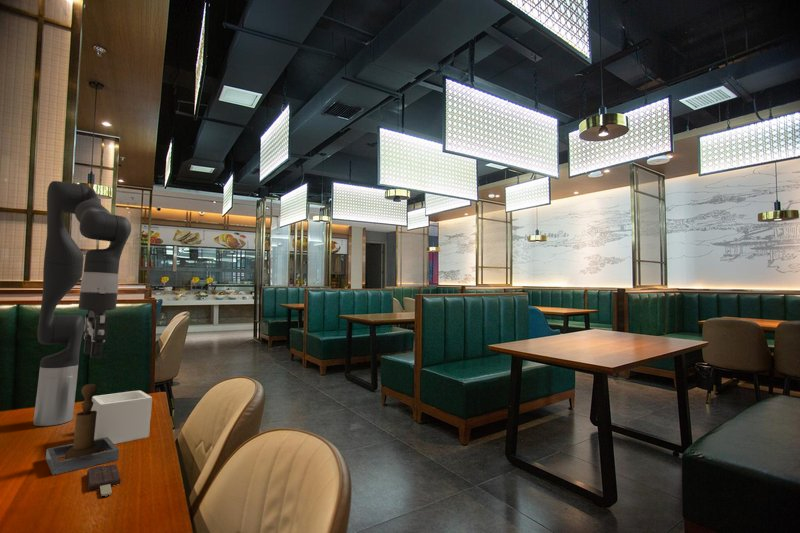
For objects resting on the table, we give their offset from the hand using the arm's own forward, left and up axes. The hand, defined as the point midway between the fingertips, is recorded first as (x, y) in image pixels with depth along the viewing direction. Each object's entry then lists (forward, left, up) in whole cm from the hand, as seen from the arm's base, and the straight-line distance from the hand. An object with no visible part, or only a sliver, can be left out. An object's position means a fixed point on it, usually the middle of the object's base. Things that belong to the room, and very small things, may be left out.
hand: (92, 356), depth 96 cm
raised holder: (-13, +10, -25) cm, 30 cm away
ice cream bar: (+18, +1, -25) cm, 31 cm away
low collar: (0, 0, -25) cm, 25 cm away
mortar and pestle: (0, 0, -25) cm, 25 cm away
